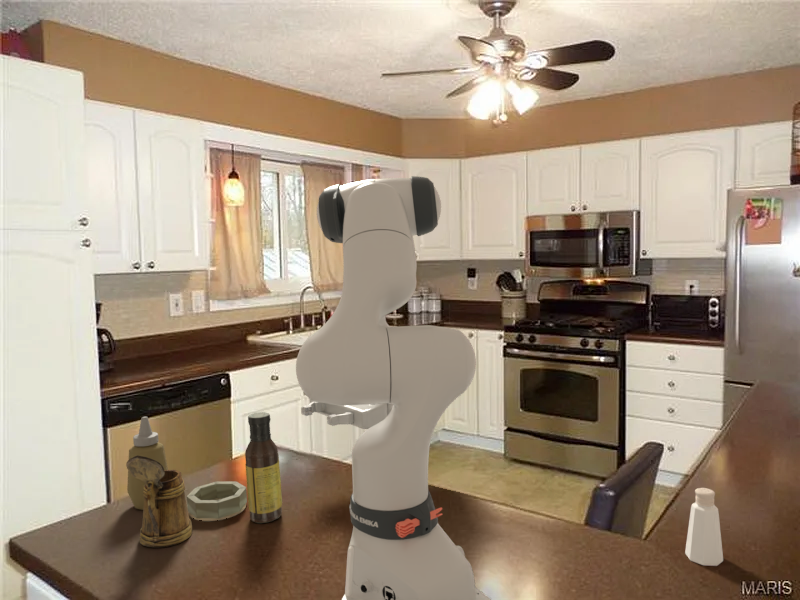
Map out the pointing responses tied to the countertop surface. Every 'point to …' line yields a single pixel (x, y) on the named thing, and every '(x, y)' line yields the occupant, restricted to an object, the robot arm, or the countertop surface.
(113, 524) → the countertop surface
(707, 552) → the salt shaker
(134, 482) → the squeeze bottle
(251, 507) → the sauce bottle
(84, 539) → the countertop surface
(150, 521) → the wooden mug
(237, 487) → the grey faceted bowl
